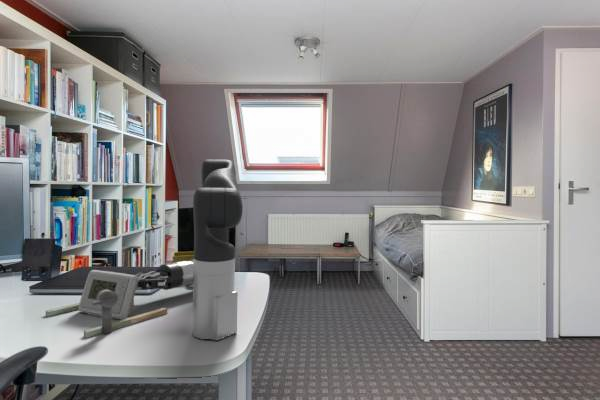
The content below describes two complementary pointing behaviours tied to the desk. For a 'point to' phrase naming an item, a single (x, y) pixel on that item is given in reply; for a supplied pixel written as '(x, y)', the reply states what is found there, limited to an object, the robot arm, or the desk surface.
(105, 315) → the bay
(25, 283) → the desk surface
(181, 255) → the flower pot
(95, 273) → the digital clock
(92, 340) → the desk surface
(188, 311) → the desk surface
